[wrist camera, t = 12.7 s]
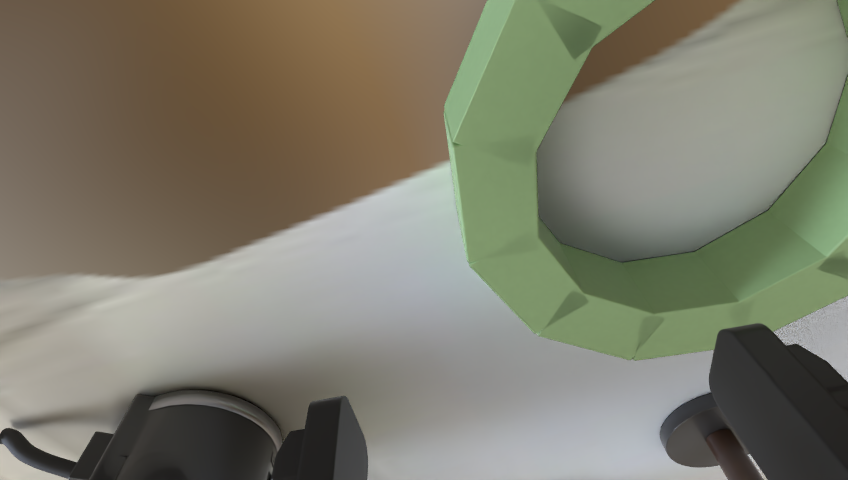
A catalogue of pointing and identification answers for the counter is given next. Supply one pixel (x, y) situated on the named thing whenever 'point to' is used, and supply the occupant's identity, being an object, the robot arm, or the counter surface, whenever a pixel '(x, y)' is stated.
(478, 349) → the counter surface
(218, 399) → the robot arm
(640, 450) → the counter surface
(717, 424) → the peg stand
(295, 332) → the counter surface
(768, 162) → the counter surface
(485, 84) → the ring
